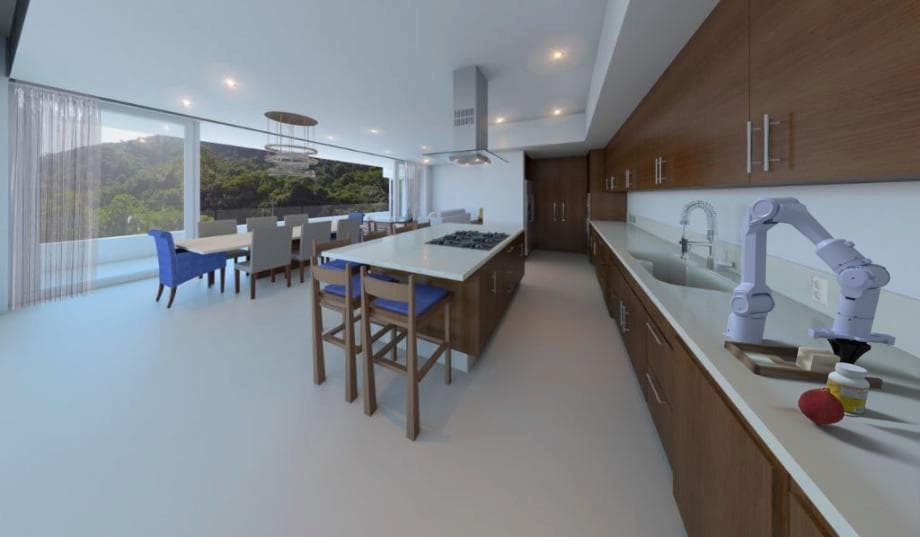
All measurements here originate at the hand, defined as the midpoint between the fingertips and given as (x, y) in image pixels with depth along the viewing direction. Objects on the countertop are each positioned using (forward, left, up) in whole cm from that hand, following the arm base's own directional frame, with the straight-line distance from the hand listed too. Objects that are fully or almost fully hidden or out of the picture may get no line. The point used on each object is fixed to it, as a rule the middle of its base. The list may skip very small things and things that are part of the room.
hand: (842, 368), depth 78 cm
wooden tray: (-2, -9, -2) cm, 10 cm away
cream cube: (0, -5, -1) cm, 5 cm away
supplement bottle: (+17, -10, -3) cm, 20 cm away
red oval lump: (+24, -18, -3) cm, 30 cm away
